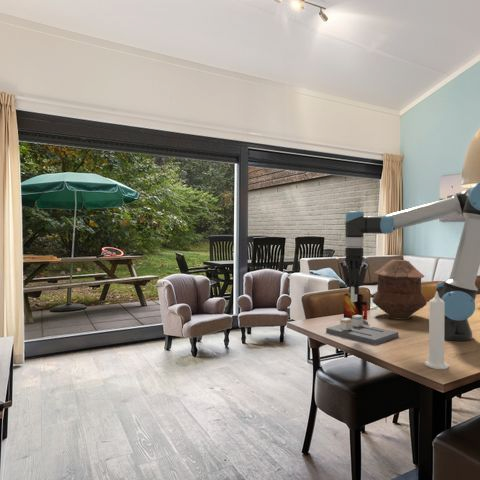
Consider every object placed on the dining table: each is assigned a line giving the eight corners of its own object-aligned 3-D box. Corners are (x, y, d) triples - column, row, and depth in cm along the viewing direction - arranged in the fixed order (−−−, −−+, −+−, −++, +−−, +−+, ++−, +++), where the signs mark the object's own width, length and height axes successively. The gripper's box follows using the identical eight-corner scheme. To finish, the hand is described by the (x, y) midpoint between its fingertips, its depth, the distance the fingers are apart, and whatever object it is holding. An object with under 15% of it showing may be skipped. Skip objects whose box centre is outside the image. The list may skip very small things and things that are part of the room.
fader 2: (363, 325, 172) (363, 315, 172) (357, 326, 169) (357, 317, 169) (357, 324, 174) (357, 314, 174) (352, 325, 172) (352, 315, 172)
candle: (440, 361, 130) (441, 289, 130) (453, 369, 123) (453, 292, 123) (420, 362, 130) (421, 289, 130) (431, 369, 123) (432, 293, 122)
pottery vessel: (363, 316, 199) (363, 259, 198) (387, 309, 216) (387, 257, 215) (412, 325, 180) (412, 262, 179) (434, 317, 197) (434, 259, 196)
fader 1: (351, 328, 166) (351, 318, 166) (346, 330, 163) (346, 320, 163) (345, 327, 168) (345, 317, 168) (340, 329, 166) (340, 319, 166)
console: (398, 336, 161) (398, 331, 161) (374, 344, 150) (374, 339, 150) (350, 326, 180) (350, 321, 180) (326, 332, 169) (326, 327, 169)
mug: (366, 322, 187) (366, 298, 187) (340, 318, 196) (340, 295, 196) (373, 318, 195) (373, 295, 194) (348, 315, 204) (348, 292, 203)
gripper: (372, 247, 161) (372, 302, 162) (346, 246, 171) (346, 298, 172) (362, 248, 156) (362, 304, 157) (336, 246, 166) (336, 300, 167)
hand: (353, 301), depth 164 cm, fingers closed
